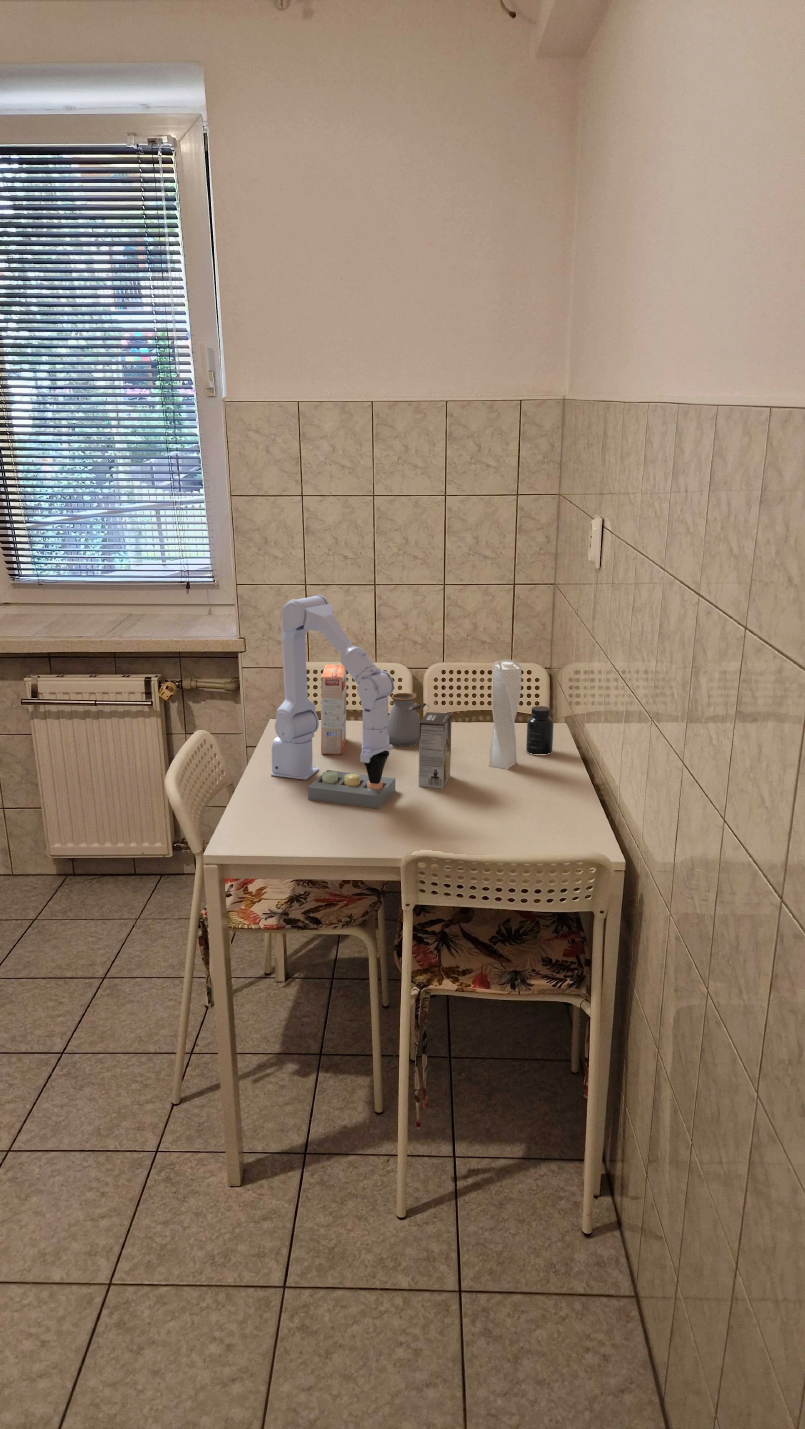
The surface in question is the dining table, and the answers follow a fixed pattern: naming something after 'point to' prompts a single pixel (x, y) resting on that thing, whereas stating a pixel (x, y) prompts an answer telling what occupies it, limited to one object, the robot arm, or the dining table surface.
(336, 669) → the cracker box
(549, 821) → the dining table surface
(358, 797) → the button panel
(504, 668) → the skyscraper
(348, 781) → the button ochre
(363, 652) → the robot arm
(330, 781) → the button sage
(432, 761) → the coffee box
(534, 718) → the supplement bottle
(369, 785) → the button terracotta
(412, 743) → the coffee pot
